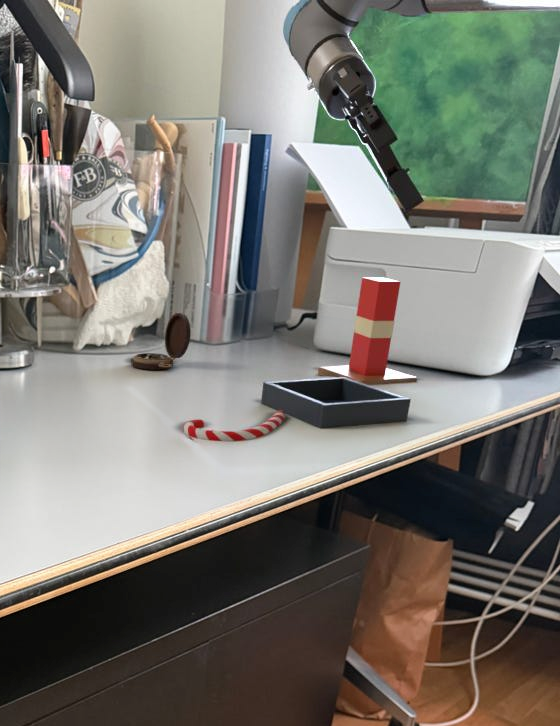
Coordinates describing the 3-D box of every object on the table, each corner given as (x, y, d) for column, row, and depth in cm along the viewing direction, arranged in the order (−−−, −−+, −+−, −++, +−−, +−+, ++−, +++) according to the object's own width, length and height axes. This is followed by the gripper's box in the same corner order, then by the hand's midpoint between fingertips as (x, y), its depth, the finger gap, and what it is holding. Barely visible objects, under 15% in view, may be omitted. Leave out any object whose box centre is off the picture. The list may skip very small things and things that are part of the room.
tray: (406, 425, 106) (411, 398, 105) (320, 432, 102) (324, 405, 101) (340, 401, 117) (344, 376, 115) (260, 407, 113) (263, 381, 111)
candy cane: (308, 414, 104) (230, 437, 95) (307, 426, 105) (228, 450, 95) (250, 402, 109) (170, 423, 99) (249, 413, 110) (169, 435, 100)
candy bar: (368, 368, 132) (382, 277, 126) (385, 375, 127) (401, 281, 122) (347, 368, 131) (361, 277, 125) (364, 375, 126) (379, 281, 121)
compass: (122, 363, 136) (124, 311, 132) (170, 361, 138) (174, 309, 135) (147, 374, 129) (150, 319, 126) (197, 371, 132) (201, 317, 128)
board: (415, 384, 127) (417, 377, 126) (360, 388, 124) (361, 380, 123) (370, 370, 135) (371, 363, 135) (317, 373, 132) (318, 366, 132)
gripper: (345, 151, 149) (400, 244, 140) (287, 36, 129) (347, 135, 120) (389, 119, 146) (448, 212, 137) (337, -4, 125) (402, 95, 117)
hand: (401, 176), depth 128 cm, fingers open, 13 cm apart
